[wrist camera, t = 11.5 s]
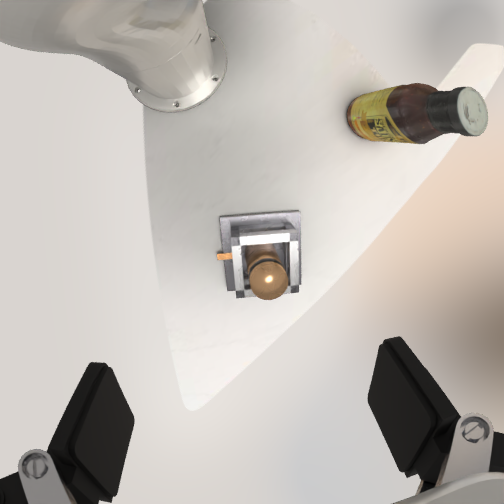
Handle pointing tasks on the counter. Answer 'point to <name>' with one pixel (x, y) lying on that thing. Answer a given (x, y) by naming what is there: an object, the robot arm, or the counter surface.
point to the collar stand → (260, 232)
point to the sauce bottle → (417, 113)
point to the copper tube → (265, 271)
